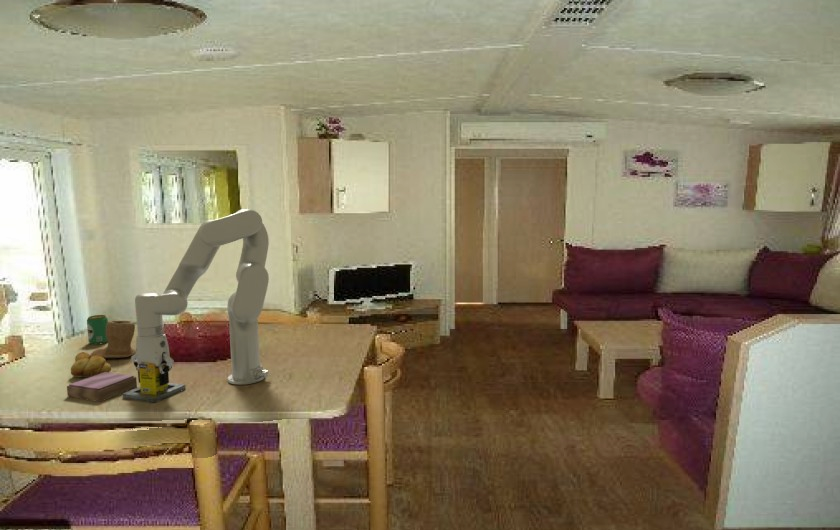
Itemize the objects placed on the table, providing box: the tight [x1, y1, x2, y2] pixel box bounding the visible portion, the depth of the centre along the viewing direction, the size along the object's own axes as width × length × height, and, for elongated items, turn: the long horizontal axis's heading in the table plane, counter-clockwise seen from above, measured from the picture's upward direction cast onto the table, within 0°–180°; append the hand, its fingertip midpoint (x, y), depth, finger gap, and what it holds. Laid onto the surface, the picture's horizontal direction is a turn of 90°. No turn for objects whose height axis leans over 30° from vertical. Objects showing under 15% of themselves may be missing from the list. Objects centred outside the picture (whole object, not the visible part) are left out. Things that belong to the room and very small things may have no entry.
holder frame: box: [122, 382, 186, 404], centre depth 170 cm, size 13×13×2 cm
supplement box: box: [139, 362, 168, 395], centre depth 170 cm, size 6×6×11 cm
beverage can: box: [86, 314, 109, 345], centre depth 234 cm, size 8×8×12 cm
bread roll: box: [70, 351, 112, 378], centre depth 189 cm, size 13×10×8 cm
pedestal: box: [66, 372, 138, 402], centre depth 172 cm, size 14×14×4 cm
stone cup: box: [89, 320, 136, 359], centre depth 212 cm, size 15×12×15 cm
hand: (153, 382), depth 170 cm, fingers open, 8 cm apart
